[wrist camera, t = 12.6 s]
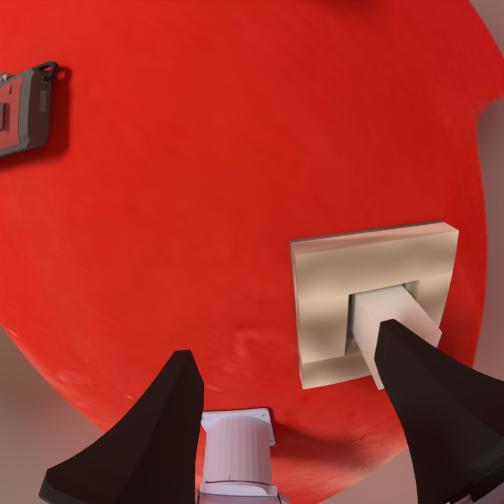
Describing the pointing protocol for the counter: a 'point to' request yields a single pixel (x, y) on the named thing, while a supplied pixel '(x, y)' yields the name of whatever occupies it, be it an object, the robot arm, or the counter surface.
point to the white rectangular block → (384, 308)
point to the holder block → (362, 288)
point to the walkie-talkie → (25, 108)
